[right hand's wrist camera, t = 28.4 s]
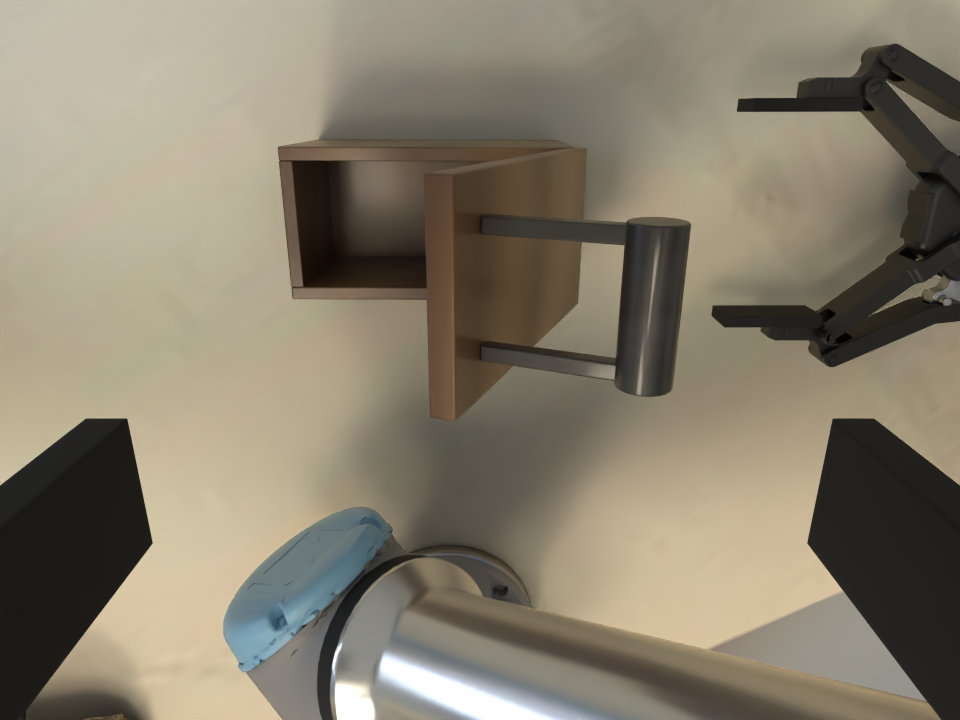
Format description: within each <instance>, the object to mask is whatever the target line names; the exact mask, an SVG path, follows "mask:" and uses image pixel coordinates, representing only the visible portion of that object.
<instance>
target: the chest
mask: <svg viewBox="0 0 960 720" xmlns="http://www.w3.org/2000/svg"><path fill="white" fill-rule="evenodd" d="M566 148H574V147H572V146H569V145H567V144H564V143H562V142H559V141H557V140H313V141H308V142H302V143H296V144H291V145H285V146H279V147H278V155H279V160H280V161H279V166H280V176H281V187H282V197H283V207H284V217H285V227H286V237H287V247H288V258H289V268H290V278H291V286H292V297H293V299H427V281H426V242H425V204H424V174H425V173H428V172H434V171H440V170H445V169H451V168H457V167H463V166H468V165H474V164H480V163H486V162H491V161H497V160H503V159H509V158H514V157H520V156H526V155H532V154H537V153H543V152H549V151H554V150H560V149H566Z"/></svg>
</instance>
